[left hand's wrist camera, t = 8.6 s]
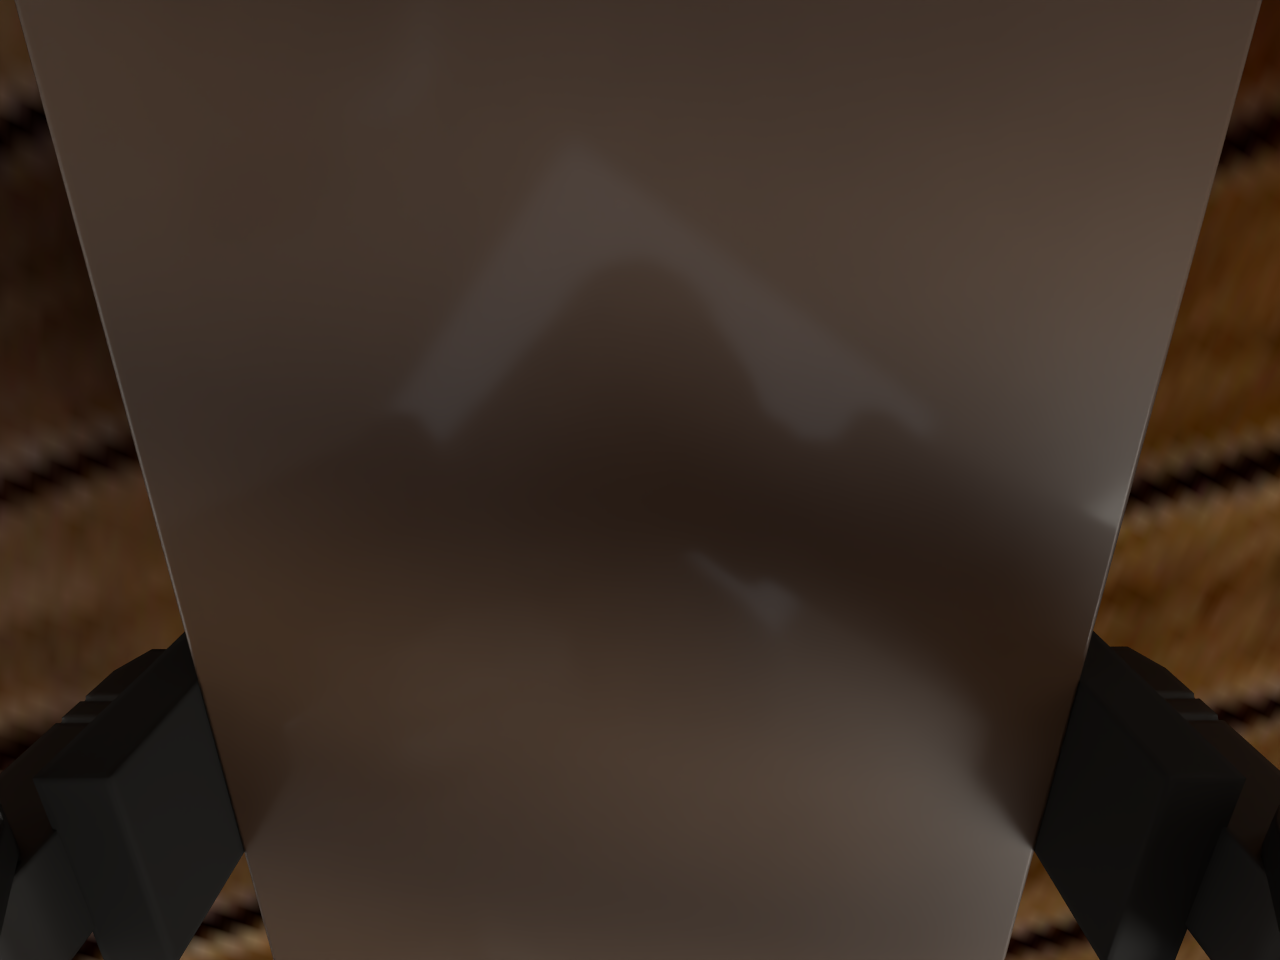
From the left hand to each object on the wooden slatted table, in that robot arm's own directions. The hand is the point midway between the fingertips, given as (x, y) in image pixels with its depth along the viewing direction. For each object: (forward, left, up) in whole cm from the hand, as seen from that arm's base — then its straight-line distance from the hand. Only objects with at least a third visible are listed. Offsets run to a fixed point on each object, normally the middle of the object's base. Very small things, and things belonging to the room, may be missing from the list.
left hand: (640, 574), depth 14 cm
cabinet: (+1, +4, -7) cm, 8 cm away
